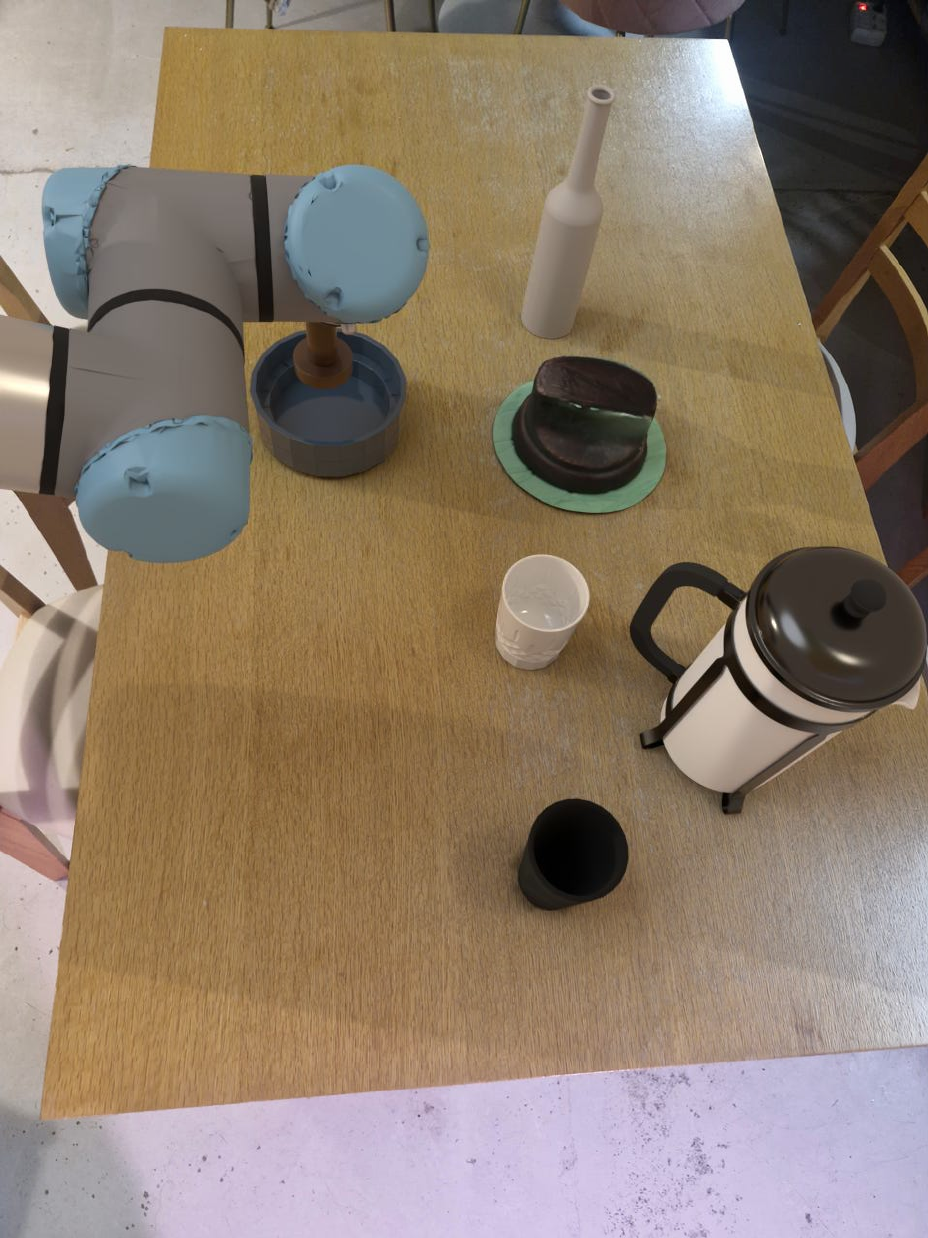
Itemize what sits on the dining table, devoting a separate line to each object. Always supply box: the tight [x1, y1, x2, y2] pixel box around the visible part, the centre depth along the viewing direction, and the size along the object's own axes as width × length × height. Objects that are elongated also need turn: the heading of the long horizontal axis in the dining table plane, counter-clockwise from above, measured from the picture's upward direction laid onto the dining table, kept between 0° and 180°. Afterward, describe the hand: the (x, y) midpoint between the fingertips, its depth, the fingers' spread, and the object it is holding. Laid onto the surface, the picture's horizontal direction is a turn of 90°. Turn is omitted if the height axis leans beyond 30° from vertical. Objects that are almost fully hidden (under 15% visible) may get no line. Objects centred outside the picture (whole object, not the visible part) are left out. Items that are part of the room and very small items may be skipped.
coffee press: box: [629, 545, 928, 816], centre depth 69 cm, size 17×16×30 cm
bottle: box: [520, 84, 617, 340], centre depth 93 cm, size 7×7×28 cm
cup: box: [517, 797, 630, 912], centre depth 69 cm, size 8×8×12 cm
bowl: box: [249, 327, 407, 478], centre depth 92 cm, size 16×16×6 cm
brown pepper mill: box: [293, 322, 353, 389], centre depth 75 cm, size 6×6×18 cm
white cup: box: [494, 553, 590, 672], centre depth 80 cm, size 8×8×10 cm
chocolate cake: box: [492, 354, 667, 514], centre depth 94 cm, size 15×19×20 cm
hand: (314, 288), depth 79 cm, fingers closed on brown pepper mill, 3 cm apart
